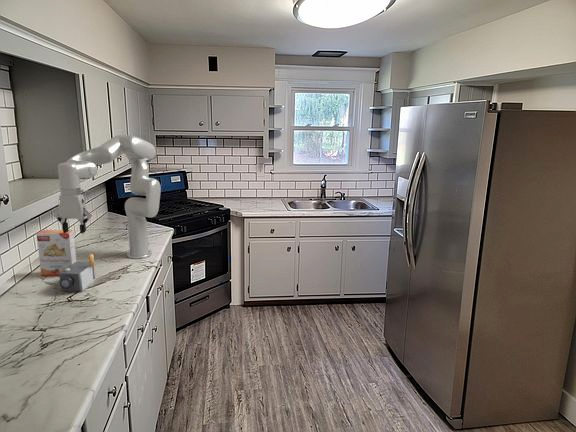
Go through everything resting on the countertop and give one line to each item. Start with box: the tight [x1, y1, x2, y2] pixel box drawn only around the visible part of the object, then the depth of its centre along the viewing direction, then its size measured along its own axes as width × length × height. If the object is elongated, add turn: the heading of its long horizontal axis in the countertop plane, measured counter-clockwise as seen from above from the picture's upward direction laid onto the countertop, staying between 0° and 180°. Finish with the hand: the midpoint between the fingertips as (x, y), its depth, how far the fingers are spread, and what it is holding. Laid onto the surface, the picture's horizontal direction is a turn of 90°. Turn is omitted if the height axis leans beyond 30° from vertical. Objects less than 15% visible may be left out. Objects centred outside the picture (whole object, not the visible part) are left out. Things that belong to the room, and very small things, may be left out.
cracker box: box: [36, 229, 77, 277], centre depth 188 cm, size 14×6×21 cm, turn 98°
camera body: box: [58, 261, 96, 292], centre depth 177 cm, size 17×8×9 cm, turn 1°
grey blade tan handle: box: [78, 253, 95, 293], centre depth 175 cm, size 11×2×13 cm, turn 1°
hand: (74, 232), depth 175 cm, fingers open, 6 cm apart
